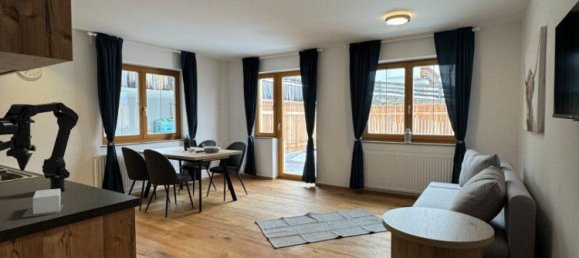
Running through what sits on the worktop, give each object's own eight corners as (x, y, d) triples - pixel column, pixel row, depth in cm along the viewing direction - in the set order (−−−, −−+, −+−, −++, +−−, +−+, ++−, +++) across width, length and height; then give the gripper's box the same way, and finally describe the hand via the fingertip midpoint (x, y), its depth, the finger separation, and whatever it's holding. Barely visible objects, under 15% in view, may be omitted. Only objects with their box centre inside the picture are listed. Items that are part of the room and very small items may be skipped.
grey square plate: (29, 209, 125) (29, 208, 124) (63, 205, 130) (63, 204, 130) (22, 217, 115) (22, 216, 115) (59, 213, 120) (59, 212, 120)
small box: (36, 206, 127) (32, 214, 116) (36, 190, 127) (32, 197, 116) (61, 203, 132) (59, 211, 121) (61, 188, 131) (59, 195, 121)
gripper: (3, 132, 138) (4, 168, 139) (-12, 135, 122) (-11, 175, 123) (35, 132, 144) (36, 166, 144) (25, 135, 127) (26, 173, 128)
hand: (22, 170), depth 135 cm, fingers closed
